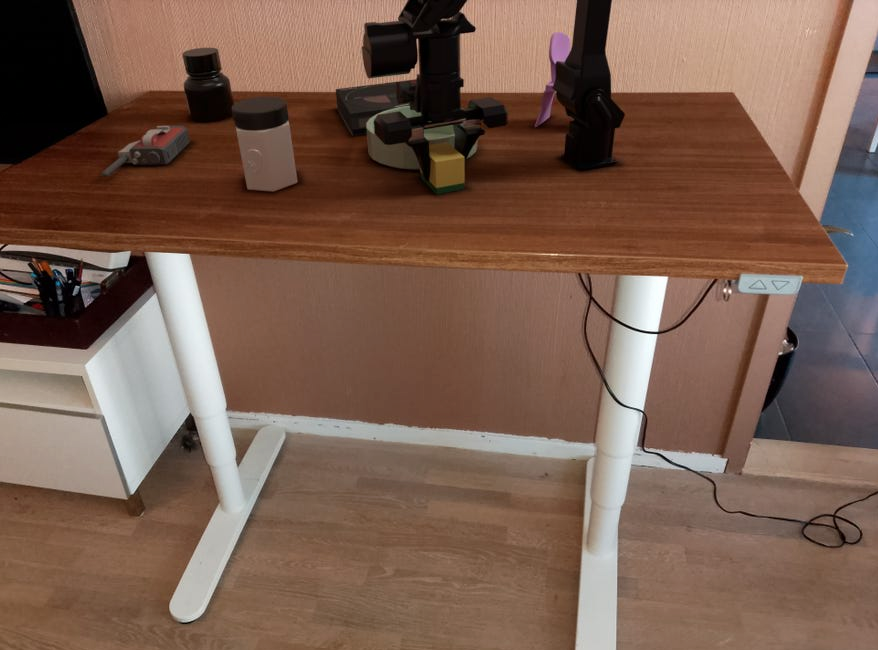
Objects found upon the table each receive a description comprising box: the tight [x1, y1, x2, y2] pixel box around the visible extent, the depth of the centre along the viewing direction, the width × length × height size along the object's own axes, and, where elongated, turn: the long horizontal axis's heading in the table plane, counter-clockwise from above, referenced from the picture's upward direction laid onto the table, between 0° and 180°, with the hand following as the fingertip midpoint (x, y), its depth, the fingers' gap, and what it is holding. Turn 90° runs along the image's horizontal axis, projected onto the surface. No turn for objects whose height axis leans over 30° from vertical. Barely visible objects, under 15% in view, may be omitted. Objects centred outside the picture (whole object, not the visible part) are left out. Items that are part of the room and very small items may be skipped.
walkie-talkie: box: [101, 125, 191, 178], centre depth 123 cm, size 9×4×20 cm
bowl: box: [366, 106, 479, 170], centre depth 119 cm, size 18×18×5 cm
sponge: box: [419, 142, 466, 195], centre depth 108 cm, size 4×7×5 cm, turn 18°
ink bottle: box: [181, 47, 235, 122], centre depth 140 cm, size 10×9×12 cm
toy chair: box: [534, 31, 571, 128], centre depth 123 cm, size 8×9×15 cm
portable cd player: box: [335, 78, 417, 137], centre depth 135 cm, size 16×17×4 cm
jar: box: [232, 96, 298, 193], centre depth 110 cm, size 9×8×12 cm
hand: (442, 177), depth 108 cm, fingers closed on sponge, 4 cm apart
